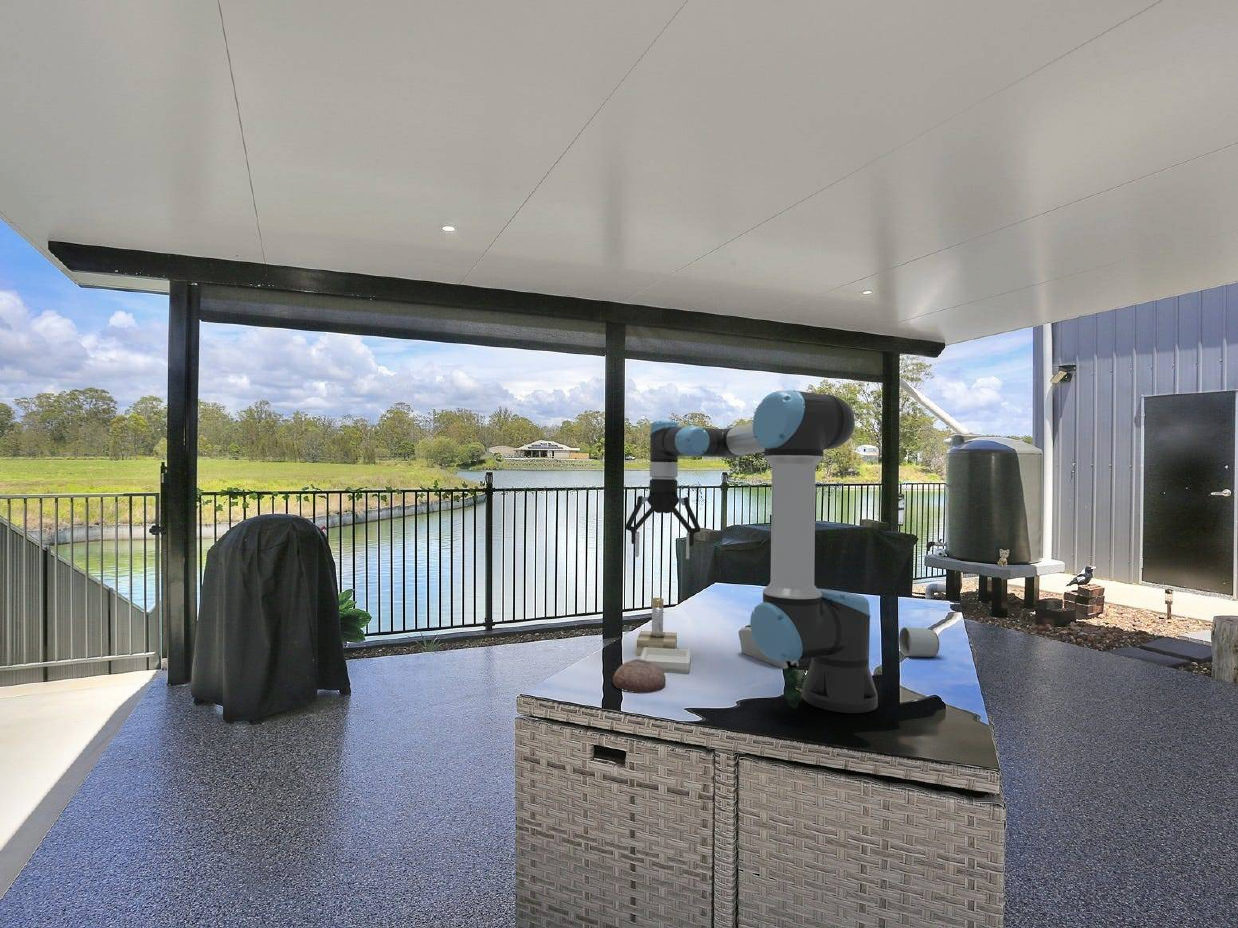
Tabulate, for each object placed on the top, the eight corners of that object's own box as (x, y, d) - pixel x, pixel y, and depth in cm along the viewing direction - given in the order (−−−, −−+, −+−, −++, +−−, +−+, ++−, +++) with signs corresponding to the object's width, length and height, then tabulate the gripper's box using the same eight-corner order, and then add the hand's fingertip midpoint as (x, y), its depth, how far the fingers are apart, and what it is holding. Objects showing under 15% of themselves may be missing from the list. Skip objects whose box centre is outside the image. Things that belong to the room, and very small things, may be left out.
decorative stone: (622, 674, 155) (622, 651, 155) (671, 680, 151) (671, 656, 151) (604, 690, 144) (605, 665, 144) (657, 696, 140) (657, 671, 140)
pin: (662, 653, 173) (663, 600, 173) (651, 652, 174) (651, 599, 174) (663, 650, 176) (663, 598, 176) (651, 649, 177) (652, 597, 177)
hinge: (800, 666, 163) (790, 630, 162) (786, 675, 161) (776, 638, 160) (756, 649, 178) (746, 616, 177) (743, 657, 176) (733, 623, 175)
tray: (689, 673, 156) (689, 663, 156) (639, 670, 157) (639, 660, 157) (690, 659, 168) (690, 649, 168) (643, 656, 169) (643, 647, 169)
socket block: (674, 657, 169) (675, 642, 169) (636, 655, 171) (636, 640, 171) (676, 647, 179) (676, 632, 179) (640, 645, 180) (640, 630, 181)
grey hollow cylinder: (941, 660, 171) (941, 630, 171) (910, 659, 171) (910, 630, 171) (921, 649, 182) (922, 622, 182) (892, 649, 182) (892, 621, 182)
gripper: (710, 479, 178) (709, 557, 178) (619, 477, 182) (618, 553, 181) (710, 479, 170) (708, 561, 170) (615, 477, 174) (614, 557, 174)
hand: (662, 557), depth 176 cm, fingers open, 13 cm apart
